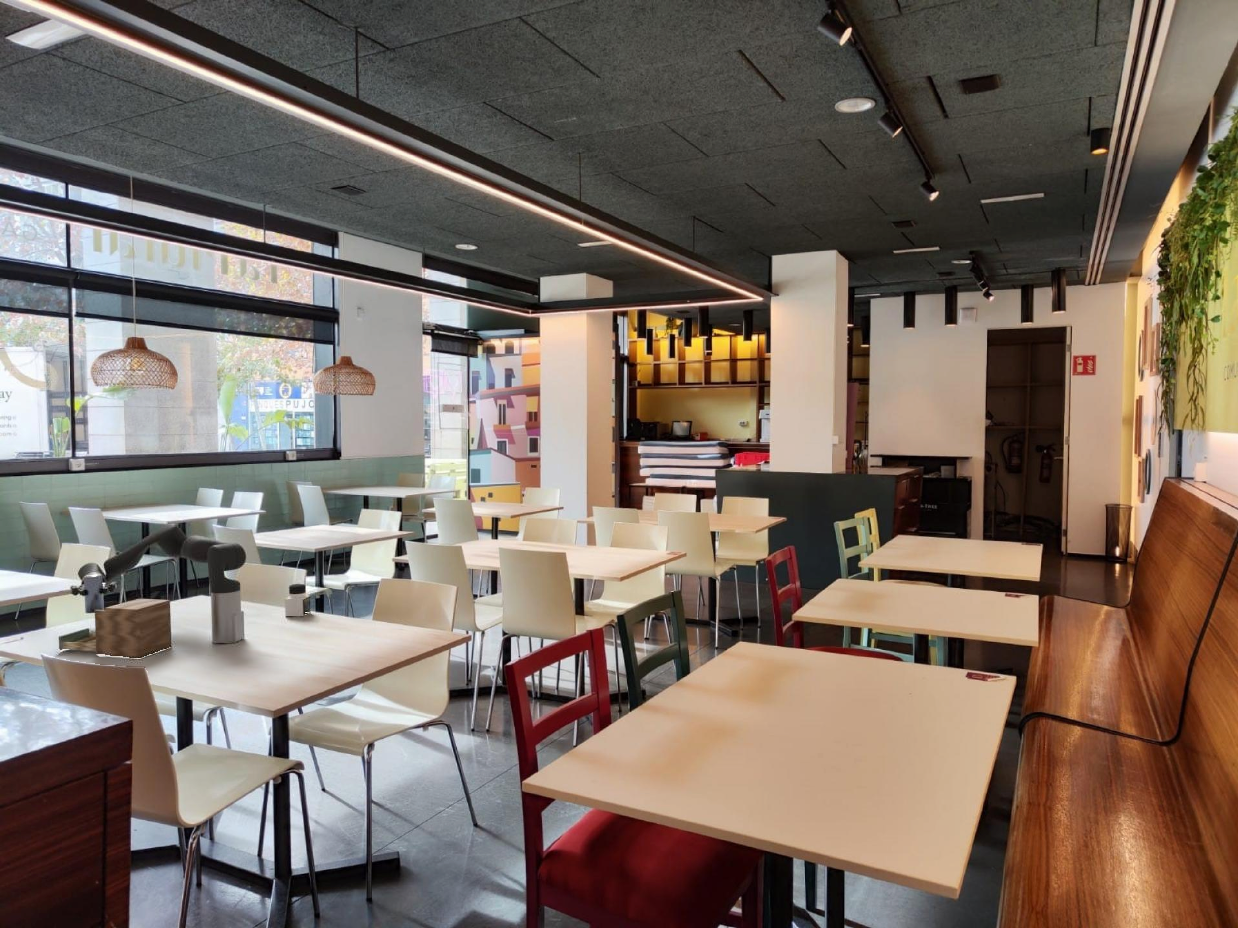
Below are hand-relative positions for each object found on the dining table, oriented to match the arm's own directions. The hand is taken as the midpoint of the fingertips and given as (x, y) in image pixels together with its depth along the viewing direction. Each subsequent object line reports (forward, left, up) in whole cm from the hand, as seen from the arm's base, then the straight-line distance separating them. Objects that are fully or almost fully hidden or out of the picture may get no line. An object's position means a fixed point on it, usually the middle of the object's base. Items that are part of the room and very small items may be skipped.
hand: (93, 592), depth 284 cm
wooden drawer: (-4, +7, -17) cm, 19 cm away
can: (+1, -2, -7) cm, 7 cm away
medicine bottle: (-51, -44, -18) cm, 69 cm away
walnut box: (-20, +9, -18) cm, 28 cm away
